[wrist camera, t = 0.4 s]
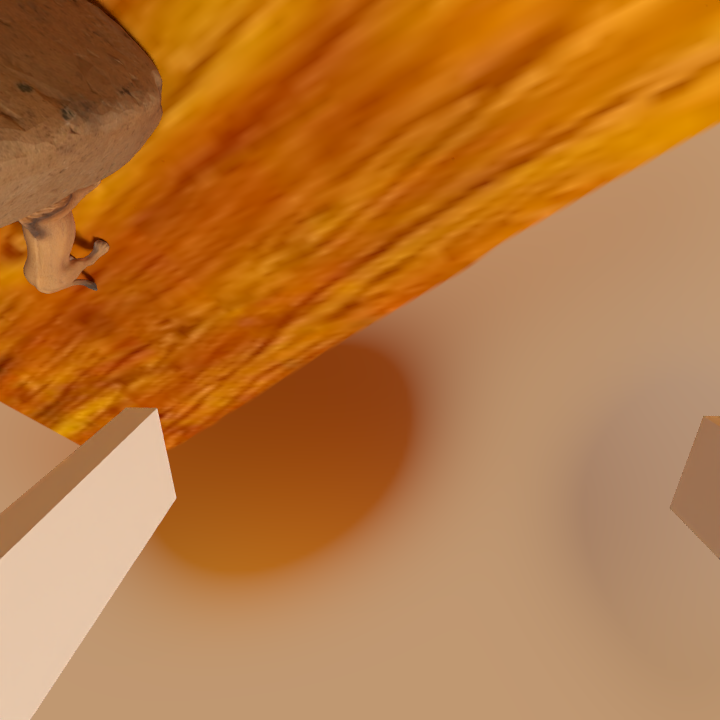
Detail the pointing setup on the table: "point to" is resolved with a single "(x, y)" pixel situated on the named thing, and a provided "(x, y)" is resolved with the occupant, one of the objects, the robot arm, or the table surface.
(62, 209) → the lion figurine
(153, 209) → the table surface
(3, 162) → the brown rough block
